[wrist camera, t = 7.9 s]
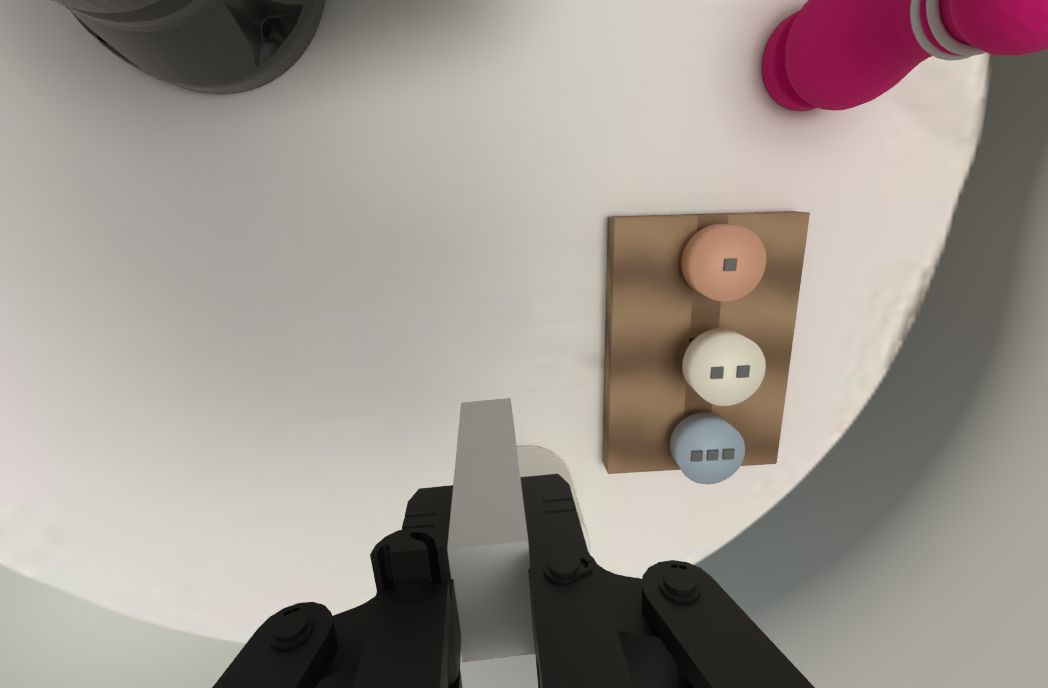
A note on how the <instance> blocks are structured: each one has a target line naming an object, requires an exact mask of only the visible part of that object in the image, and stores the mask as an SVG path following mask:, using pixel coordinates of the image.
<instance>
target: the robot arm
mask: <svg viewBox="0 0 1048 688" xmlns="http://www.w3.org/2000/svg"><path fill="white" fill-rule="evenodd" d="M52 1H55V2H57V3H59V4H62V5H64V6H65V7H67V8H68V9H69V10H70V11H71V12H72V13H73V15H74V16H75V17H76V18H77V19H78V21H79V22H80V23H81V24H82V25H83V26H84V27H85V28H86V29H87V30H88V31H89V32H90V33H91V34H92V35H93V36H94V37H95V38H96V39H97V40H98V41H99V42H100V43H101V44H102V45H104V46H105V47H106V48H107V49H108V50H109V51H111V52H112V53H113V54H115V55H116V56H117V57H119V58H120V59H122V60H123V61H125V62H126V63H128V64H130V65H131V66H133V67H135V68H137V69H138V70H140V71H142V72H144V73H146V74H148V75H150V76H153V77H155V78H158V79H160V80H163V81H166V82H169V83H172V84H175V85H178V86H181V87H184V88H187V89H191V90H195V91H200V92H207V93H235V92H241V91H246V90H250V89H253V88H256V87H259V86H261V85H264V84H266V83H268V82H270V81H272V80H274V79H275V78H277V77H278V76H280V75H281V74H283V73H284V72H285V71H286V70H288V69H289V68H290V67H291V66H292V65H293V64H294V63H295V62H296V61H297V60H298V59H299V58H300V56H301V55H302V54H303V52H304V51H305V50H306V48H307V47H308V45H309V44H310V42H311V40H312V38H313V36H314V34H315V32H316V30H317V27H318V25H319V22H320V19H321V16H322V12H323V8H324V3H325V0H52ZM370 557H371V562H372V567H373V572H374V578H375V583H376V588H377V594H376V596H375V597H374V598H372V599H371V600H369V601H368V602H366V603H364V604H362V605H360V606H358V607H355V608H353V609H350V610H348V611H345V612H342V613H339V614H337V615H334V616H332V614H331V612H330V611H329V610H328V609H327V607H326V606H325V605H322V604H318V603H315V602H306V603H298V604H295V605H292V606H289V607H286V608H284V609H282V610H280V611H279V612H277V613H276V614H274V615H272V616H271V617H269V618H268V619H267V620H266V621H265V622H264V623H263V624H262V625H261V626H260V627H259V628H258V629H257V631H256V632H255V633H254V634H253V636H252V637H251V638H250V640H249V641H248V642H247V644H246V645H245V646H244V648H243V649H242V650H241V651H240V653H239V654H238V655H237V657H236V658H235V659H234V660H233V662H232V663H231V664H230V666H229V667H228V668H227V669H226V671H225V672H224V673H223V675H222V676H221V677H220V678H219V680H218V681H217V682H216V684H215V685H214V686H213V687H212V688H462V681H461V673H460V654H461V656H462V662H467V661H476V660H485V659H493V658H502V657H509V656H518V655H527V654H536V665H537V677H538V688H814V686H813V685H811V683H810V682H809V681H808V680H807V679H806V678H805V677H804V676H803V675H802V674H801V672H800V671H799V670H798V669H797V668H796V667H795V666H794V665H793V664H792V663H791V662H790V661H789V660H788V659H787V657H786V656H785V655H784V654H783V653H782V652H781V651H780V650H779V649H778V648H777V647H776V646H775V645H774V643H773V642H772V641H771V640H770V639H769V638H768V637H767V636H766V635H765V634H764V633H763V632H762V631H761V630H760V629H759V628H758V626H757V625H756V624H755V623H754V622H753V621H752V620H751V619H750V618H749V617H748V616H747V615H746V613H745V612H744V611H743V610H742V609H741V608H740V607H739V606H738V605H737V604H736V603H735V602H734V601H733V600H732V599H731V597H730V596H729V595H728V594H727V593H726V592H725V591H724V590H723V589H722V588H721V587H720V585H719V584H718V583H717V582H716V581H715V580H714V579H713V578H712V577H711V576H710V575H709V574H707V573H706V572H705V571H703V570H702V569H701V568H699V567H697V566H695V565H692V564H690V563H687V562H681V561H674V560H671V561H664V562H659V563H657V564H655V565H653V566H651V567H649V568H648V569H647V571H646V572H645V573H644V575H643V579H640V578H633V577H626V576H622V575H617V574H614V573H611V572H609V571H607V570H605V569H603V568H602V567H600V566H599V565H598V564H597V563H596V562H595V560H594V558H593V557H592V556H590V554H589V552H588V548H587V545H586V541H585V538H584V534H583V531H582V527H581V524H580V520H579V517H578V513H577V511H576V506H575V502H574V500H573V495H572V492H571V488H570V485H569V483H568V482H567V481H565V480H564V479H563V478H562V477H561V476H560V475H559V474H548V475H538V476H528V477H520V471H519V463H518V455H517V447H516V439H515V431H514V423H513V415H512V407H511V399H510V398H508V399H497V400H486V401H475V402H464V403H461V411H460V422H459V432H458V443H457V453H456V463H455V474H454V484H453V485H452V486H442V487H432V488H422V489H419V490H418V491H417V492H416V493H415V494H414V495H413V497H412V498H411V499H410V500H409V501H408V504H407V508H406V513H405V519H404V521H403V526H402V530H399V531H396V532H394V533H392V534H390V535H388V536H386V537H385V538H383V539H382V540H381V541H380V542H379V543H378V544H376V545H375V547H374V549H373V551H372V552H371V554H370Z"/></svg>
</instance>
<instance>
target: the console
mask: <svg viewBox="0 0 1048 688" xmlns="http://www.w3.org/2000/svg"><path fill="white" fill-rule="evenodd" d="M809 215H810V213H808V212H795V211H790V212H755V213H719V214H684V215H649V216H614V217H608V250H607V293H606V336H605V379H604V422H603V463H604V466H605V468H606V470H607V473H608V474H614V473H631V472H647V471H664V470H680V467H679V466H678V464H677V463H676V461H675V460H674V459H673V457H672V455H671V452H670V439H671V435H672V433H673V431H674V429H675V428H676V426H677V425H678V424H679V423H680V422H681V421H682V420H684V419H685V418H687V417H688V416H690V415H693V414H696V413H700V412H711V413H715V414H718V415H720V416H721V417H723V418H724V419H725V420H726V421H727V422H728V423H729V424H730V425H732V426H733V427H734V428H735V429H736V430H737V431H738V432H739V433H740V435H741V436H742V438H743V440H744V444H745V455H744V459H743V461H742V463H741V465H740V466H747V465H763V464H776V463H777V455H778V448H779V440H780V433H781V425H782V418H783V410H784V403H785V395H786V388H787V380H788V373H789V365H790V357H791V350H792V342H793V335H794V327H795V320H796V312H797V305H798V297H799V290H800V282H801V275H802V267H803V260H804V252H805V245H806V237H807V230H808V222H809ZM714 224H728V225H735V226H741V227H745V228H747V229H749V230H751V231H753V232H754V233H755V234H756V235H757V236H758V237H759V238H760V239H761V241H762V243H763V245H764V247H765V251H766V267H765V271H764V274H763V276H762V278H761V280H760V282H759V283H758V284H757V286H756V287H755V288H754V289H753V290H752V291H751V292H750V293H748V294H747V295H746V296H744V297H742V298H740V299H737V300H734V301H728V302H721V301H716V300H713V299H710V298H708V297H706V296H704V295H702V294H700V293H698V292H696V291H695V290H693V289H692V288H691V287H690V286H689V285H688V284H687V282H686V280H685V278H684V276H683V273H682V267H681V261H682V255H683V252H684V249H685V247H686V245H687V243H688V242H689V240H690V239H691V238H692V237H693V236H694V235H695V234H696V233H697V232H698V231H700V230H701V229H703V228H705V227H707V226H710V225H714ZM716 328H726V329H731V330H734V331H736V332H738V333H739V334H741V335H743V336H745V337H746V338H748V339H750V340H752V341H753V342H755V343H756V344H757V345H758V346H759V348H760V349H761V351H762V352H763V355H764V358H765V364H766V368H765V375H764V378H763V380H762V383H761V384H760V386H759V388H758V389H757V390H756V391H755V392H754V393H753V394H752V395H751V396H750V397H749V398H747V399H746V400H744V401H742V402H740V403H738V404H735V405H730V406H719V405H714V404H711V403H709V402H707V401H706V400H704V399H703V398H702V397H701V396H700V395H699V394H698V393H697V392H696V391H695V390H694V389H693V388H692V387H691V386H690V385H689V384H688V383H687V381H686V380H685V377H684V375H683V370H682V362H683V357H684V354H685V351H686V350H687V348H688V346H689V338H696V337H697V336H699V335H700V334H702V333H704V332H706V331H708V330H711V329H716Z"/></svg>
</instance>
